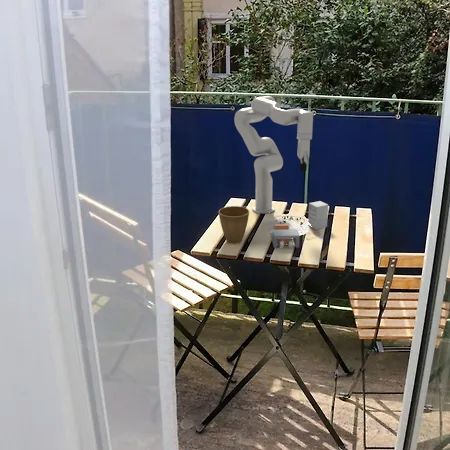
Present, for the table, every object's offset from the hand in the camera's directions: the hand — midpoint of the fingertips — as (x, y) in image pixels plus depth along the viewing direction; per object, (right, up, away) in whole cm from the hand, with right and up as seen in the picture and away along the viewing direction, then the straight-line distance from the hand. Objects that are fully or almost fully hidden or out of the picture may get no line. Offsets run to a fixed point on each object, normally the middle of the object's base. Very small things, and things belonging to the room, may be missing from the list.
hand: (303, 170), depth 291 cm
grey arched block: (-12, -36, -12) cm, 40 cm away
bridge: (-11, -36, -12) cm, 40 cm away
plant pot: (-36, -36, -13) cm, 53 cm away
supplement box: (+8, -29, +6) cm, 31 cm away
